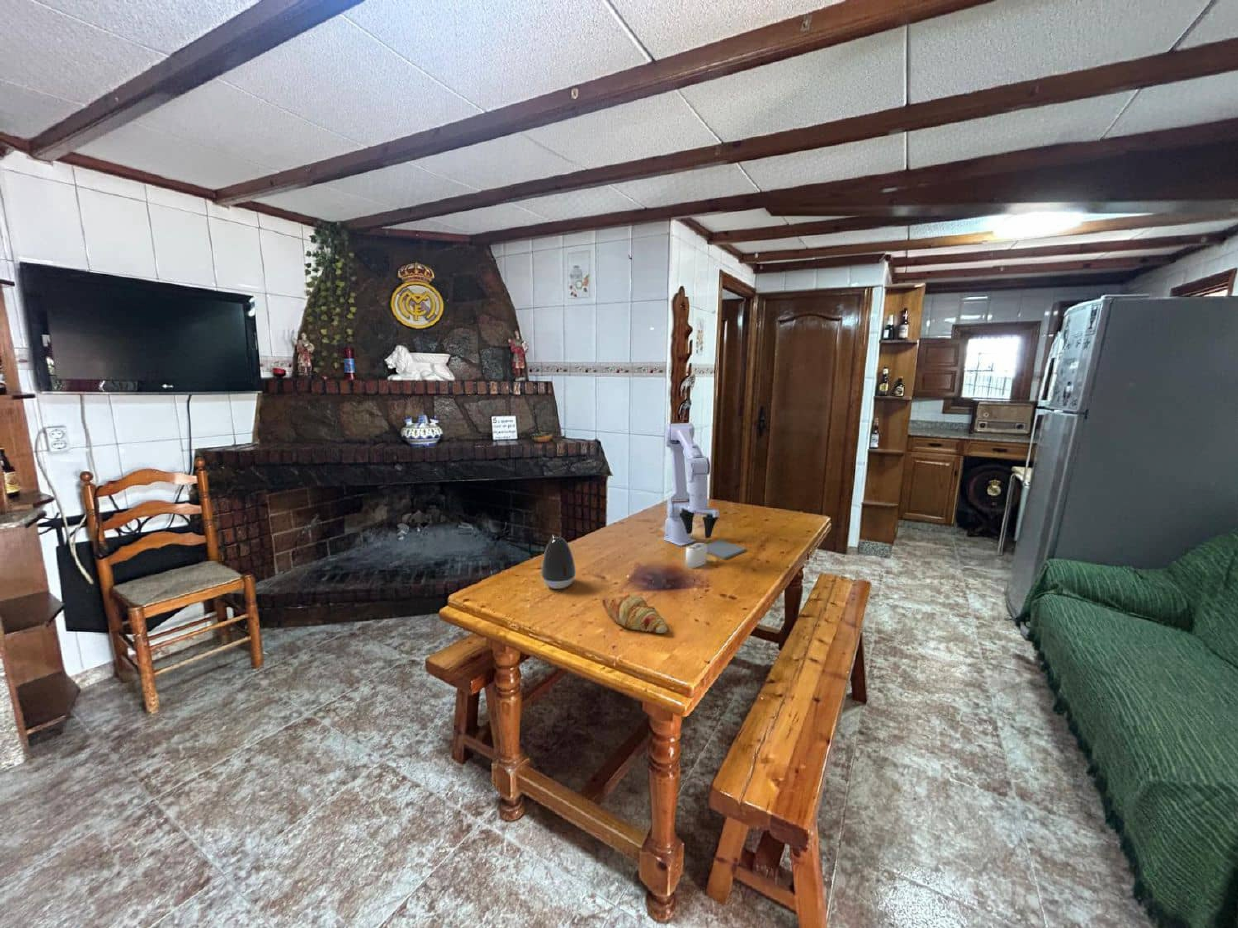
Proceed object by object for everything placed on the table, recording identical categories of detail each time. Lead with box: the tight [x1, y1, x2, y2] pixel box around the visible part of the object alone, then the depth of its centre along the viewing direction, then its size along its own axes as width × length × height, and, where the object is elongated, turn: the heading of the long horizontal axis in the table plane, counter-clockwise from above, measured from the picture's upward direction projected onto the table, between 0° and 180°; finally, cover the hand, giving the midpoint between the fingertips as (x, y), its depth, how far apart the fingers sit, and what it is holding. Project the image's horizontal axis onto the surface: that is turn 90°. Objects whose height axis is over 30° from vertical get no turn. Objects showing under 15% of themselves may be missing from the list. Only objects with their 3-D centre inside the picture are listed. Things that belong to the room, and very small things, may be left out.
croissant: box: [601, 594, 668, 634], centre depth 129 cm, size 21×10×8 cm, turn 50°
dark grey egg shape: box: [541, 534, 577, 590], centre depth 150 cm, size 10×10×15 cm
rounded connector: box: [685, 542, 708, 569], centre depth 165 cm, size 4×9×7 cm, turn 130°
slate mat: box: [706, 539, 747, 560], centre depth 177 cm, size 12×12×1 cm
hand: (698, 535), depth 164 cm, fingers open, 7 cm apart
